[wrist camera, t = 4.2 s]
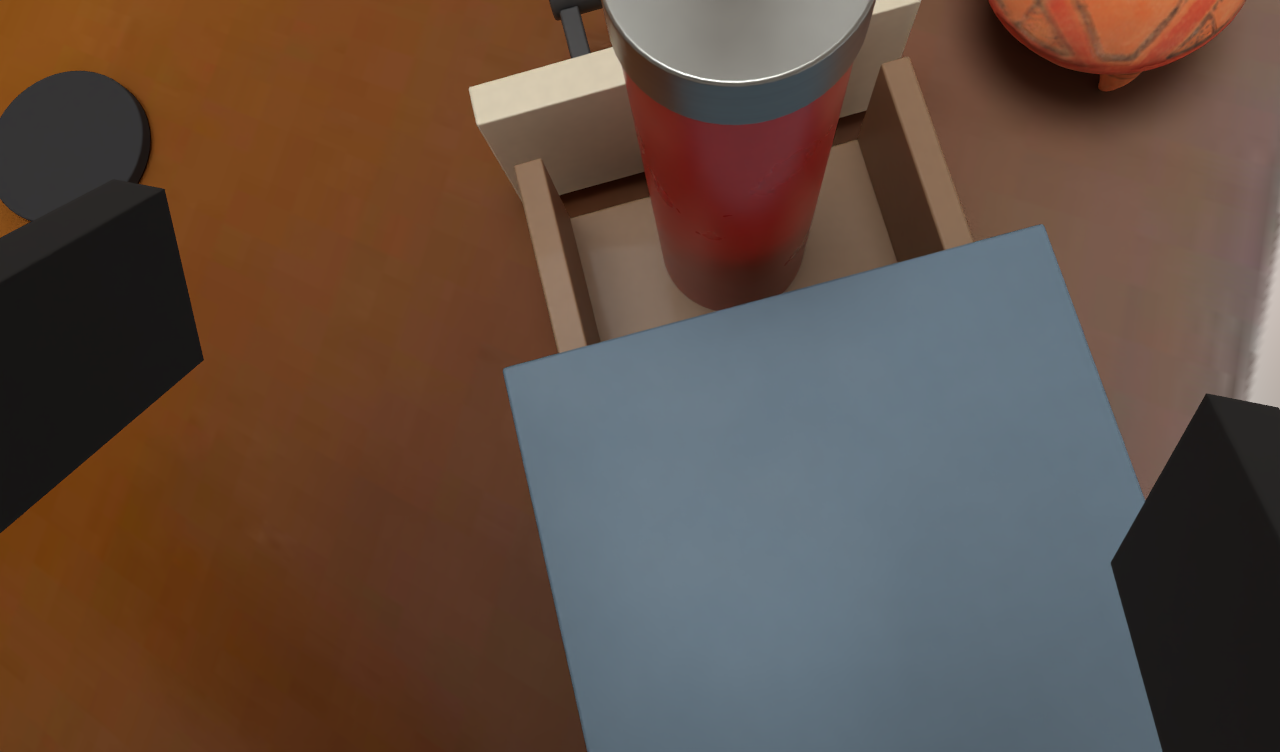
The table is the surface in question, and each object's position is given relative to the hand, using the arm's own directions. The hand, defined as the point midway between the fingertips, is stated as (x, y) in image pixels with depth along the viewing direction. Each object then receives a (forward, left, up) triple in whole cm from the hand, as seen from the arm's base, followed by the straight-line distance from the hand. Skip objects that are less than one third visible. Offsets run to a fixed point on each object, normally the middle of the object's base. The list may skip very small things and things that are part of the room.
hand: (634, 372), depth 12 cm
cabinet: (0, -5, -17) cm, 18 cm away
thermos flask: (+6, +3, -15) cm, 17 cm away
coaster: (-4, +25, -17) cm, 31 cm away
